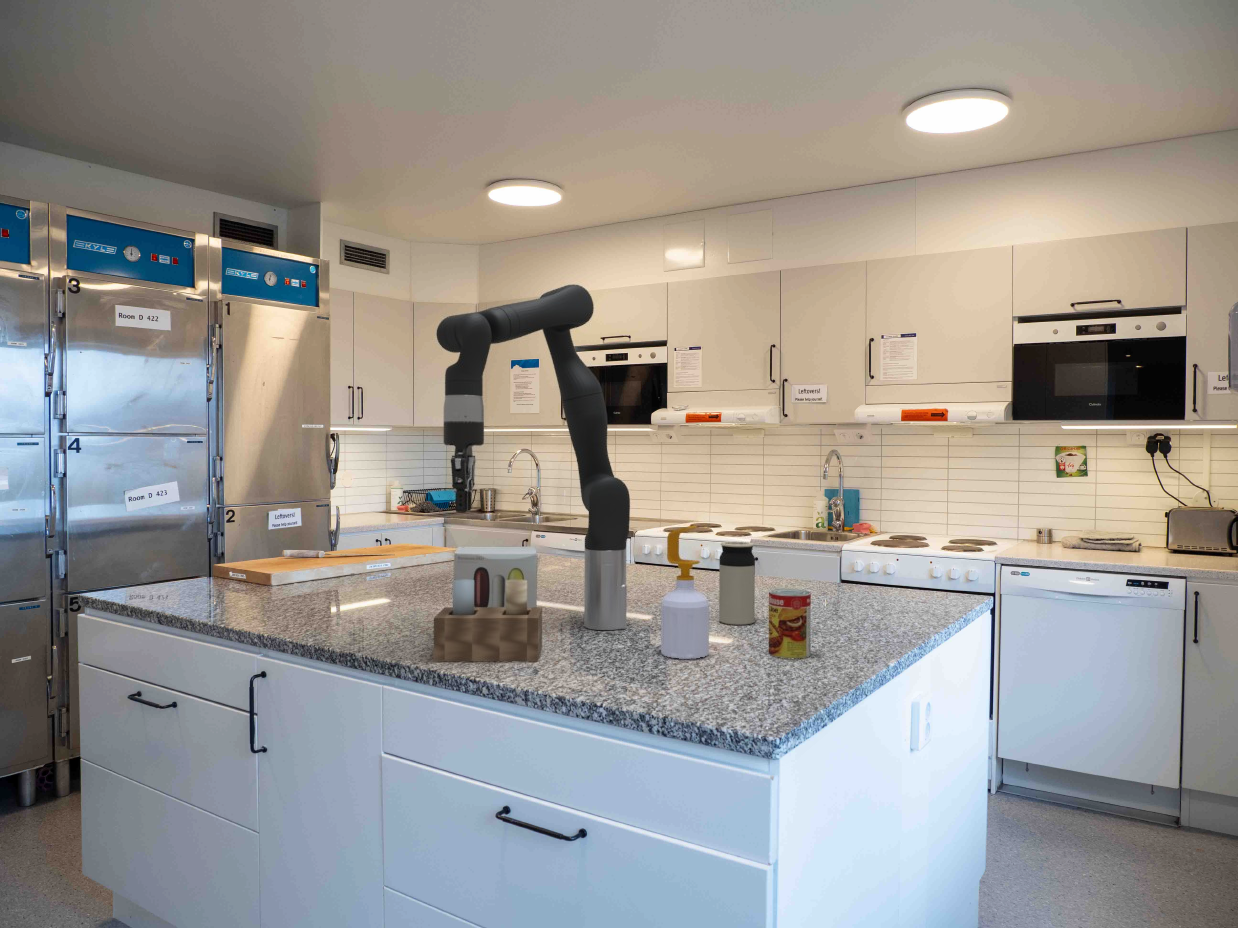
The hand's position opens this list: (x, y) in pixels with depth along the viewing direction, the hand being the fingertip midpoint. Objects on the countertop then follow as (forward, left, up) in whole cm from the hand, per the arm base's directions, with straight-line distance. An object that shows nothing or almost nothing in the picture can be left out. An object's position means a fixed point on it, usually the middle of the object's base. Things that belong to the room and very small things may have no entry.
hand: (463, 510), depth 158 cm
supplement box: (-4, -18, -28) cm, 33 cm away
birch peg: (-10, 0, -21) cm, 23 cm away
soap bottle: (-42, 0, -27) cm, 50 cm away
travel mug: (-57, -31, -27) cm, 70 cm away
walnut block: (-5, 0, -27) cm, 28 cm away
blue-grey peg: (0, 0, -21) cm, 21 cm away
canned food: (-62, 0, -27) cm, 68 cm away
